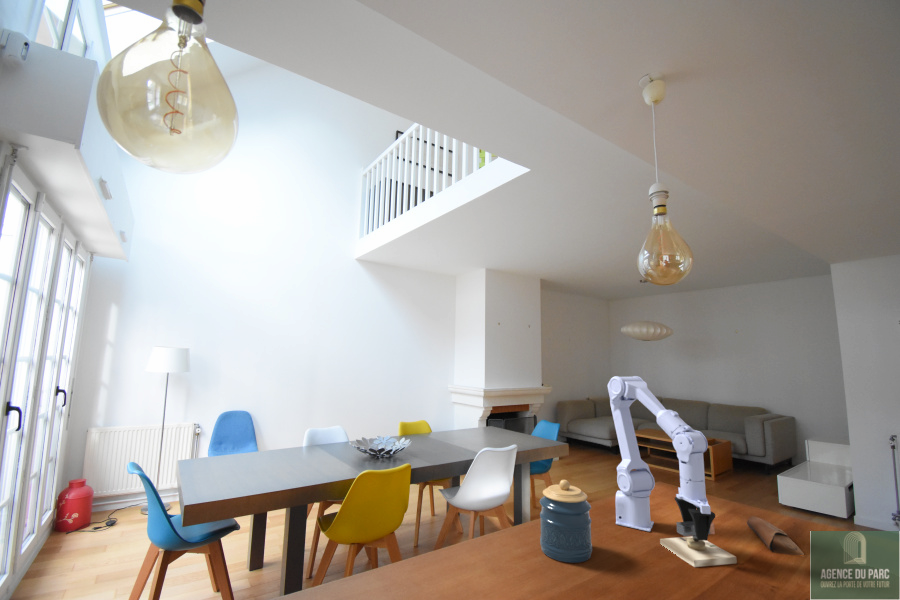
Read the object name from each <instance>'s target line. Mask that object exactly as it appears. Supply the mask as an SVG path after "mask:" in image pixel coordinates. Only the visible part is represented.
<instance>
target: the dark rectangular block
mask: <svg viewBox="0 0 900 600" xmlns="http://www.w3.org/2000/svg"><path fill="white" fill-rule="evenodd" d="M676 532H677V534H679V535H680V536H681V535H682V536H683V537H691V536H693V540H694V541H699V540H698V539H697V536H696V532H695V527H694V522H693V521H689V522H683V521H678V522H676ZM715 534H716V533H715V523H714V522H712V523H711V526H710V529H709V534H708V535H715Z"/></svg>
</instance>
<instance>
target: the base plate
mask: <svg viewBox="0 0 900 600" xmlns="http://www.w3.org/2000/svg"><path fill="white" fill-rule="evenodd" d="M659 544H661V545H662V546H661V545H660V546H661V547H663V546H664V547H665V549H666V548H667V549H668V550H667V549H666V550H667V551H669V550H670V551H671V553H672V552H673V553H672V554H673V555H675V554H676V556H677V557H678V558H680V559H681V560H682V561H684V562H686V563H688V565H690V566H692V567H693V568H699V567H711V566H713V567H714V566H721V565H723V566H724V565H733V564H734V565H735V564H737V563H738V561H737V556H735V555H734V554H732V553H730V552H728V551H727V550H725V549H723V548H721V547H720V546H717V545H716V544H714V543H712V542H710V541H708V540H707V541H705V540H699V541H694V540H693V535H692V536H683V537H682V536H681V537H680V536H679V537H665V538H659ZM664 547H663V548H664ZM670 551H669V552H670Z"/></svg>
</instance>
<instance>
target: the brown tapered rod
mask: <svg viewBox="0 0 900 600" xmlns="http://www.w3.org/2000/svg"><path fill="white" fill-rule="evenodd" d="M746 523H747V527H748V528H749V529H751V530H752V532H754V533H755V534H756V535H757V536H758V538H759V539H760V541H762V542H763V544H764V545H765V546H766V547H767V549H769V550H770V552H771V553H773V554H783V555H788V556H789V555H790V556H795V555H796V556H797V555H804V554H805V553H804V551H803V550H802V549H801V548H800V547H799V546H798V545H797V544H796V542H794V541H793V540H792V539H791V538H790V537H789V534H788V533H786V531H784V530H783V529H781V528H779V527H777V526H776V525H774V524H772V522H771V523H770V522H769V521H767V520H765V519H763V518H760V517H758V516H755V515H753V516H749V518H748V519H747V520H746Z"/></svg>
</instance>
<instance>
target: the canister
mask: <svg viewBox="0 0 900 600" xmlns="http://www.w3.org/2000/svg"><path fill="white" fill-rule="evenodd" d="M542 494H543V496H541V498H540V499H539V504H540V505H541V511H540V512H539V517H540V536H539V539H540V541H539V542H540V543H539V544H540V546H541V547H540V548H541V552H542V553H543V554H545V555H546V556H547V557H549V558H550V559H553V560H556V561H558V562H564V563H568V564H569V563H572V564H576V563H583V562H586V561H588V560H590V559H591V558H592V553H593V544H592V525H591V524H592V518H591V517H590V511H591V509H592V506H591V504H590V503H589V501H587V500H588V495H587V493H585V492H584V491H582V489H580V488H579V487H577V486H574V485H571V484H570V482H569V481H568V480H567V479H561V480H560V481H559V484H557V483H556V484H552V485H549V486H548V487H546V488H544V489H543V490H542Z"/></svg>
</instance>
